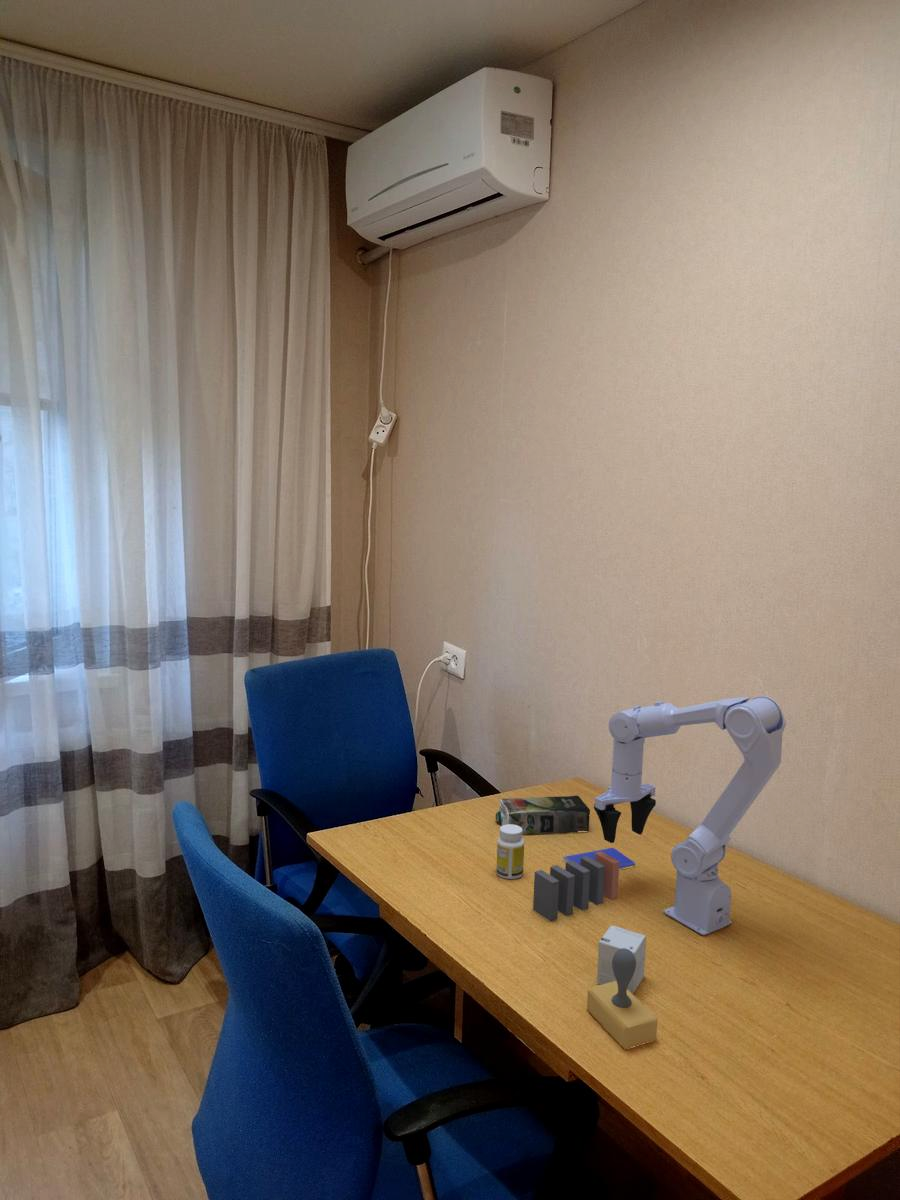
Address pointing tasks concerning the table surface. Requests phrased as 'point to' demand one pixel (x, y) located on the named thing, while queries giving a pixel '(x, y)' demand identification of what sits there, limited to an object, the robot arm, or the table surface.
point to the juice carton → (545, 814)
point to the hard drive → (610, 851)
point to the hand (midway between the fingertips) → (623, 836)
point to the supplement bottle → (510, 852)
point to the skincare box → (612, 943)
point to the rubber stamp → (622, 1005)
